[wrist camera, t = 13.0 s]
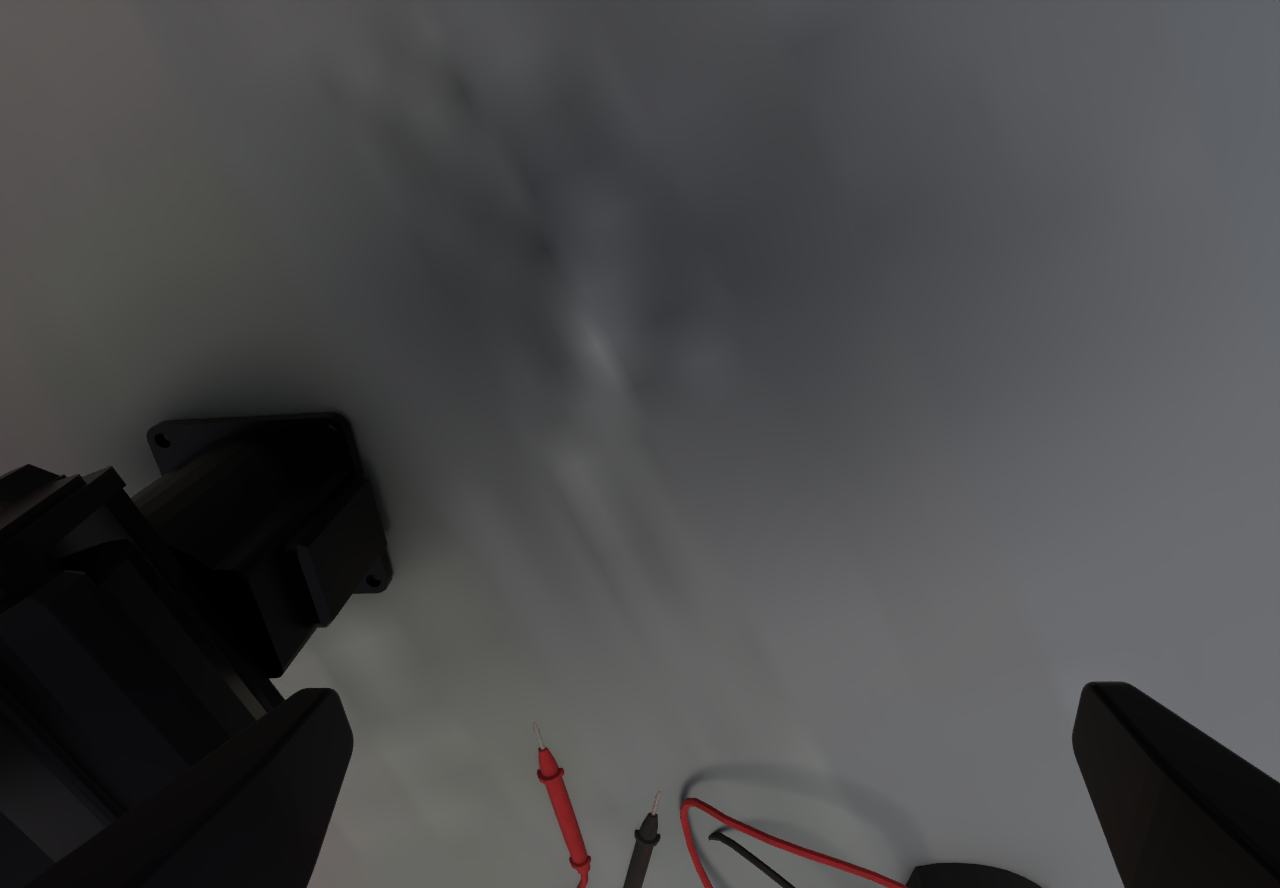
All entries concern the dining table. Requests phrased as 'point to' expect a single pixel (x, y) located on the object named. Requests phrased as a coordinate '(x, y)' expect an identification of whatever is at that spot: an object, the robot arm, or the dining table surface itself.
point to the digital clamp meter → (927, 884)
